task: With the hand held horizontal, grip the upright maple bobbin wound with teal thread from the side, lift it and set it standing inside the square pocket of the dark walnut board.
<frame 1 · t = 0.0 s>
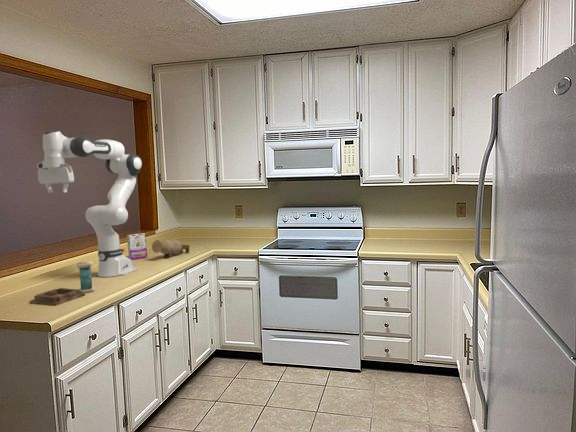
hand: (57, 192, 221), 48 cm above the worktop, tool pointing down, fingers open, 8 cm apart
bobbin: (86, 291, 218), on the worktop
brown stuffed animal: (172, 257, 302), on the worktop
candy bar box: (137, 258, 301), on the worktop
pocket board: (57, 299, 206), on the worktop
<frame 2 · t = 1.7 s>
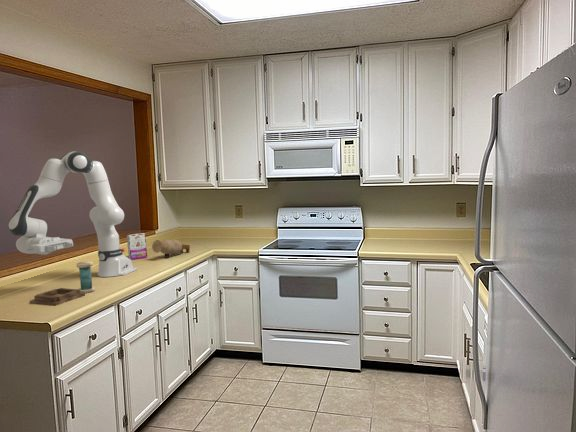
hand: (64, 246, 220), 22 cm above the worktop, tool horizontal, fingers open, 8 cm apart
nothing on the worktop moved.
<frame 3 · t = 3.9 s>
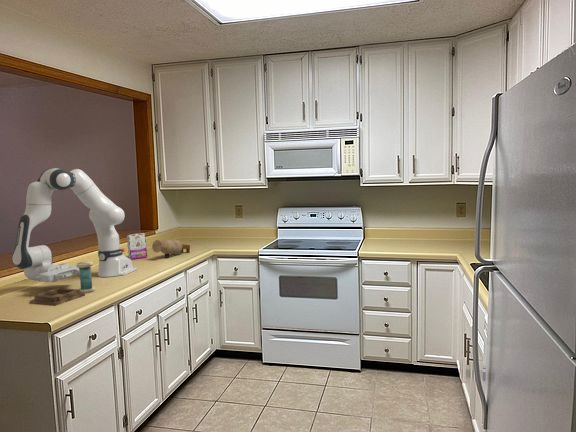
hand: (72, 274, 220), 8 cm above the worktop, tool horizontal, fingers open, 8 cm apart
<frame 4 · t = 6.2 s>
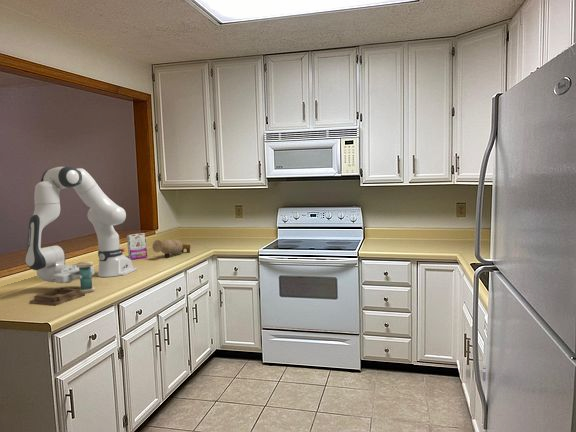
hand: (86, 275, 217), 8 cm above the worktop, tool horizontal, fingers closed on bobbin, 5 cm apart
bobbin: (86, 291, 218), on the worktop, touching gripper
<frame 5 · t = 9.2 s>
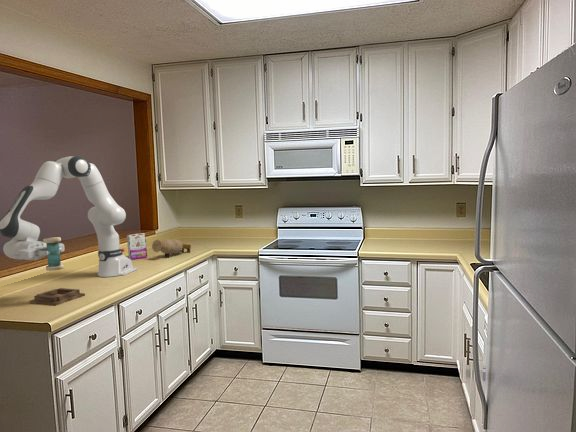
hand: (54, 251, 204), 22 cm above the worktop, tool horizontal, fingers closed on bobbin, 5 cm apart
bobbin: (54, 268, 205), point 14 cm above the worktop, touching gripper
when the fingers open (10 cm above the worktop, at t = 12.4 s): bobbin drops 1 cm, resting on pocket board.
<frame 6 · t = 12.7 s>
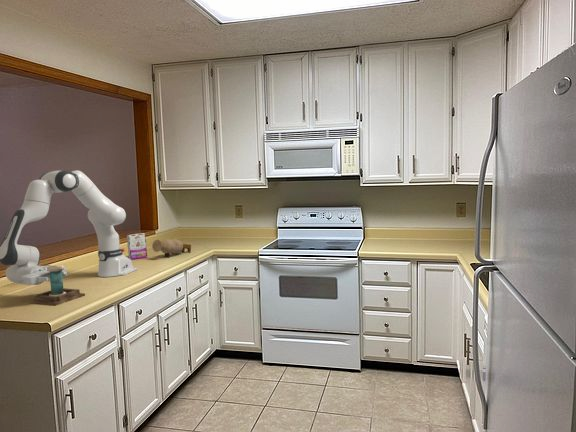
hand: (57, 276, 205), 10 cm above the worktop, tool horizontal, fingers open, 8 cm apart
bobbin: (57, 296, 206), point 1 cm above the worktop, touching pocket board
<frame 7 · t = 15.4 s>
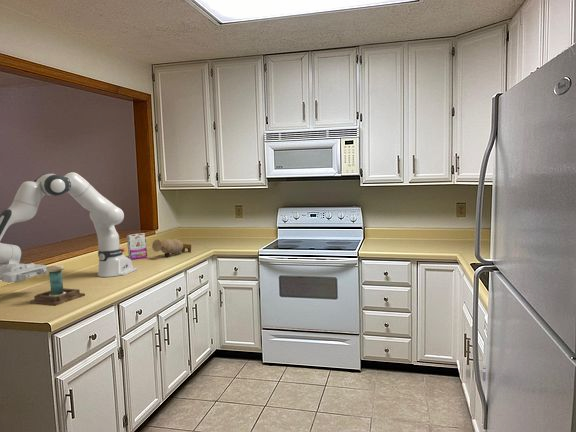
hand: (37, 274, 210), 11 cm above the worktop, tool horizontal, fingers open, 8 cm apart
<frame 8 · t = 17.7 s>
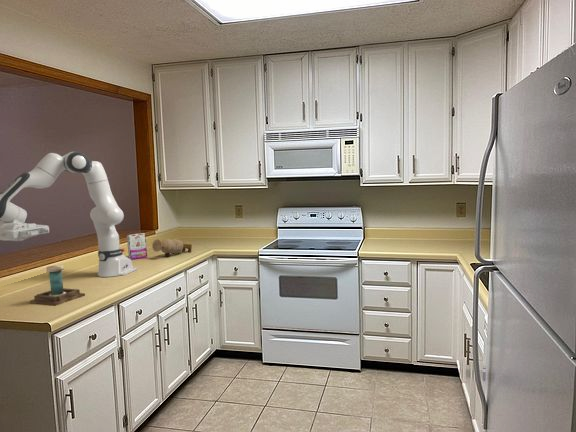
hand: (39, 232, 213), 30 cm above the worktop, tool horizontal, fingers open, 8 cm apart
at the end: bobbin 0.0 cm off-centre on the pocket board, point 1.0 cm above the pocket board's base; bobbin tilted 0°; the gripper is holding nothing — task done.
